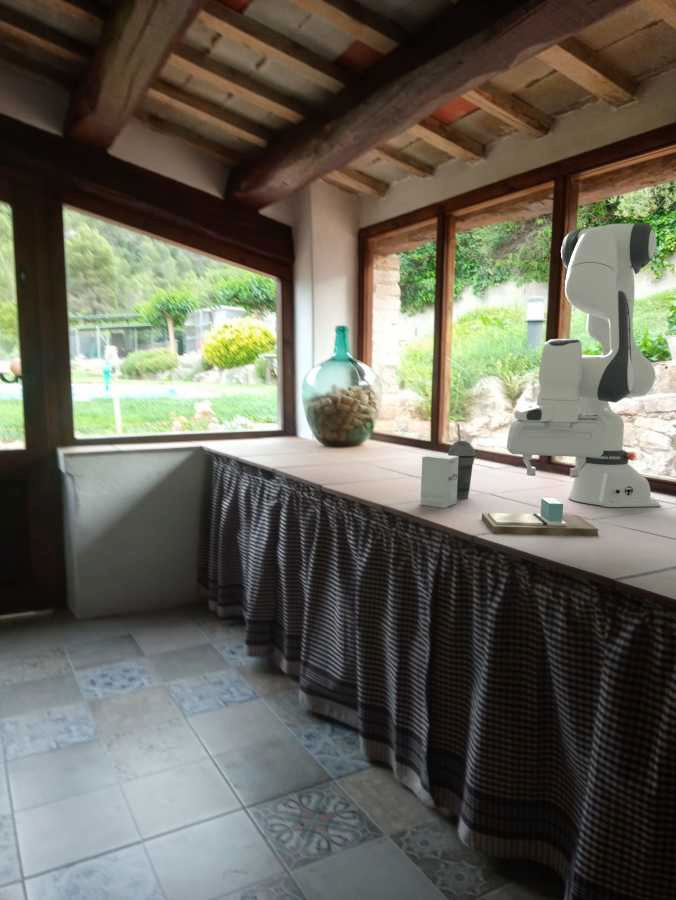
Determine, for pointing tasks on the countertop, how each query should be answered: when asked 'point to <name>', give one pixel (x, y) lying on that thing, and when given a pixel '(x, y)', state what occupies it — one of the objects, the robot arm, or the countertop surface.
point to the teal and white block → (552, 511)
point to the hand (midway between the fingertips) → (552, 476)
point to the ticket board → (536, 524)
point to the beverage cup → (463, 465)
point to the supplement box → (439, 480)
